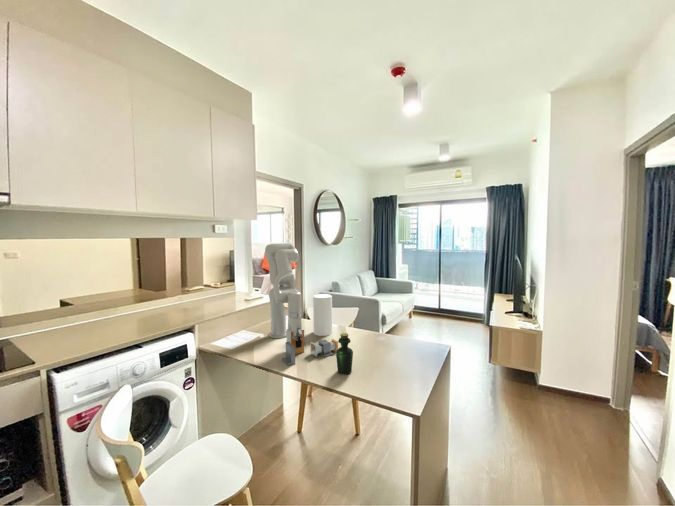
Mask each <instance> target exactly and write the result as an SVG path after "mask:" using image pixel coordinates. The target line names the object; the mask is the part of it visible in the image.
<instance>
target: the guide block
mask: <svg viewBox="0 0 675 506" xmlns="http://www.w3.org/2000/svg"><path fill="white" fill-rule="evenodd" d="M330 342H331V341H328V340H327V339H322V340H321V339H320V340H318V344H321V345H323V352H322V353H319V354H320V355H321V356H323V357H324V358H326V357H329V356H333V352H332V350H330ZM318 344H317V345H318Z"/></svg>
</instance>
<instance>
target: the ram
mask: <svg viewBox="0 0 675 506" xmlns="http://www.w3.org/2000/svg"><path fill="white" fill-rule="evenodd" d="M329 342H330V350H331V351H333V350H334V351H335V352H336V351H337V349H338V348H339V342H338V341H337V340H336V339H333V338H331V341H329ZM322 352H323V345H321V344H315V343H314V342H312V341H310V354H311V355H312V356H314V357H315V358H316V357H318V354H320V353H322Z"/></svg>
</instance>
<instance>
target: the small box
mask: <svg viewBox="0 0 675 506" xmlns="http://www.w3.org/2000/svg"><path fill="white" fill-rule="evenodd" d="M286 331H287V336H286V342H290V343H291V344H292V345H294V346H295V355H298V354H302V353H305V329H304V328H302V347H299V348H296V336H295V337H294V336H293V332H292V331H291V330H290V329H288V328H286ZM297 335H298V334H297ZM297 337H299V336H297Z"/></svg>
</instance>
